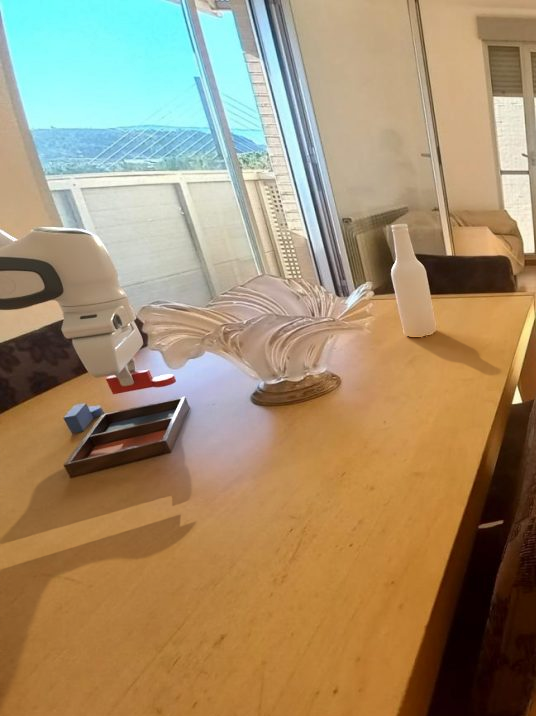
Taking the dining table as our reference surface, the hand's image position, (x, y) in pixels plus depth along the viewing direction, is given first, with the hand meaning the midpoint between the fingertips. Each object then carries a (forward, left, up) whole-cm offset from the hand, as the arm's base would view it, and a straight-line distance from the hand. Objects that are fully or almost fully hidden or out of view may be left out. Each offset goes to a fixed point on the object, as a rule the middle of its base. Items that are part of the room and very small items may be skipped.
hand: (130, 381), depth 94 cm
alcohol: (+57, +13, -6) cm, 59 cm away
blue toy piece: (-8, -2, -6) cm, 10 cm away
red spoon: (+2, 0, -2) cm, 2 cm away
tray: (+2, -16, -6) cm, 17 cm away
